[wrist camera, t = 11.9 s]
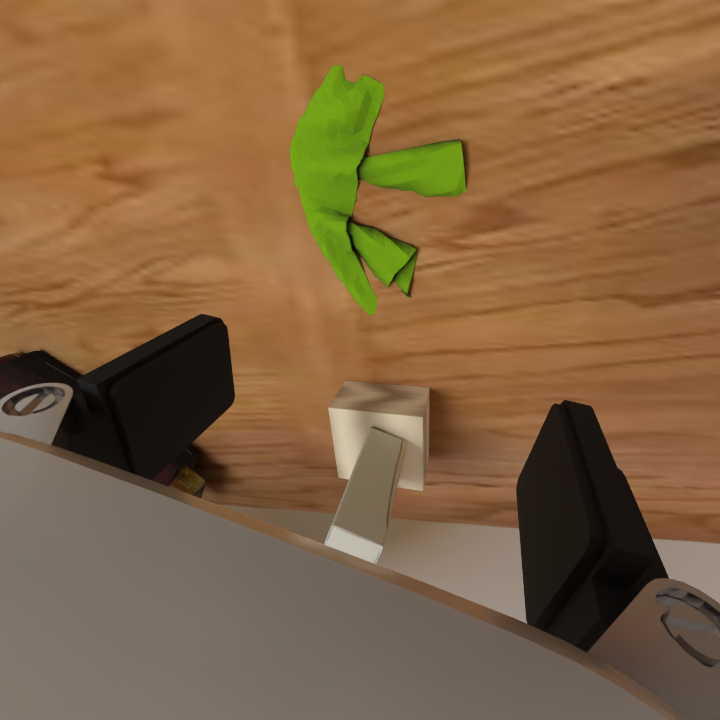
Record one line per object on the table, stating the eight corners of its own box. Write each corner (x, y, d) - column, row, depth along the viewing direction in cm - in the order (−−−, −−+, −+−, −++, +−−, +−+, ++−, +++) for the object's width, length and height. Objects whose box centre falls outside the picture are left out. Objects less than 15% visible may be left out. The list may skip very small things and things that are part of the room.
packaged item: (225, 460, 57) (180, 511, 48) (211, 492, 62) (169, 543, 53) (16, 330, 57) (-65, 358, 48) (20, 373, 62) (-52, 405, 54)
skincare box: (391, 477, 40) (364, 588, 30) (354, 463, 40) (315, 567, 30) (409, 439, 37) (386, 549, 26) (368, 424, 37) (330, 526, 27)
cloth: (314, 30, 29) (301, 19, 27) (567, 138, 27) (574, 135, 25) (263, 263, 40) (252, 268, 37) (443, 349, 38) (441, 359, 36)
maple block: (429, 386, 40) (422, 417, 35) (429, 454, 45) (423, 491, 39) (346, 379, 43) (328, 407, 38) (353, 444, 47) (338, 477, 42)
